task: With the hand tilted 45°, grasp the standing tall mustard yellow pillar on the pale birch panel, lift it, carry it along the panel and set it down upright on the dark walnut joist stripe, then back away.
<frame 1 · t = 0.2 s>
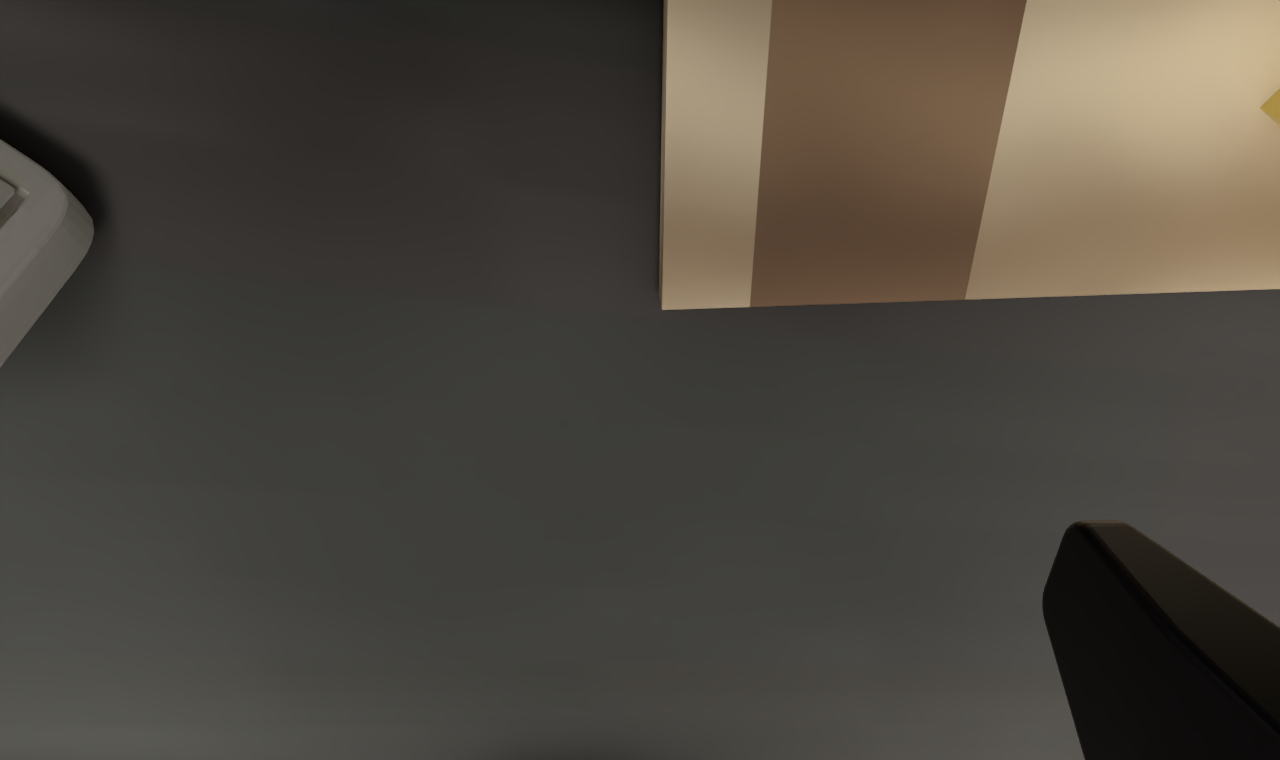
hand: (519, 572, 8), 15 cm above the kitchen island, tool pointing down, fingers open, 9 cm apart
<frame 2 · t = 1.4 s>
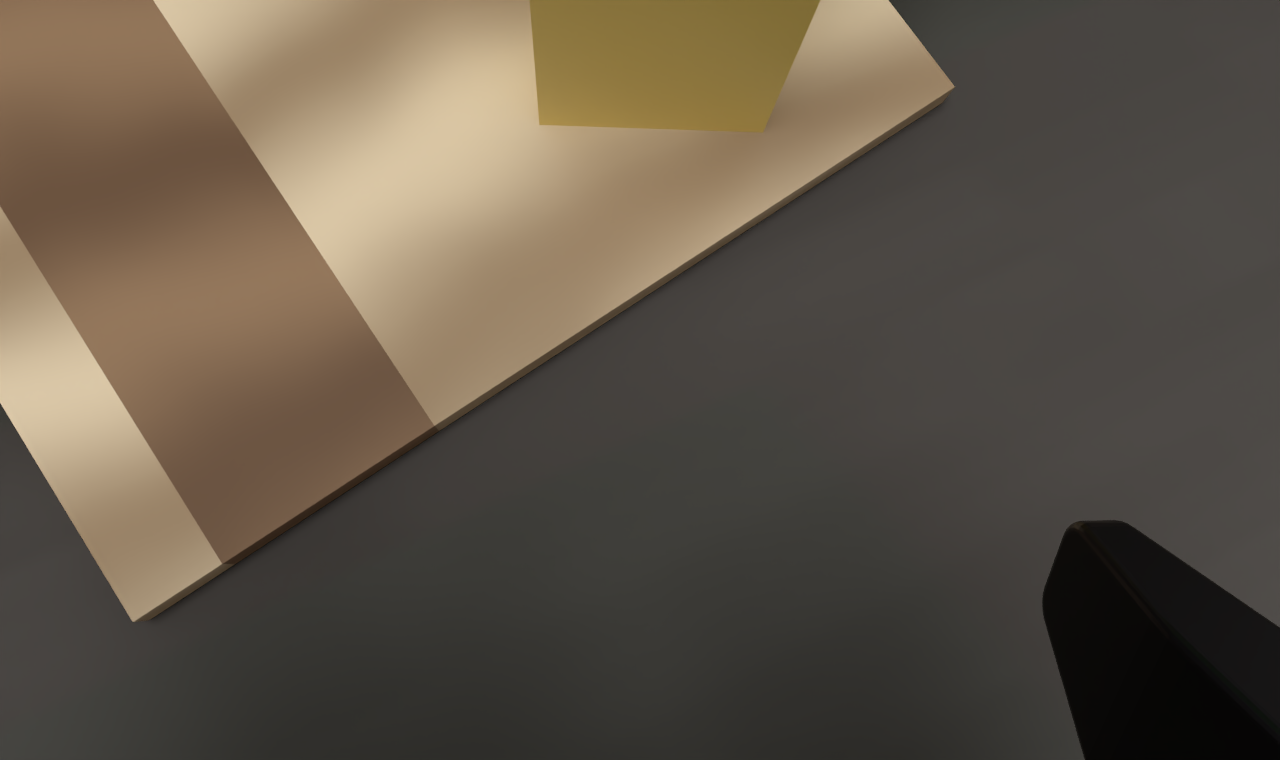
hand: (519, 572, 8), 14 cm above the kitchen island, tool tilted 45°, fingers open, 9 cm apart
panel: (391, 77, 23), on the kitchen island
tall mustard yellow pillar: (652, 25, 23), point 1 cm above the kitchen island, touching panel
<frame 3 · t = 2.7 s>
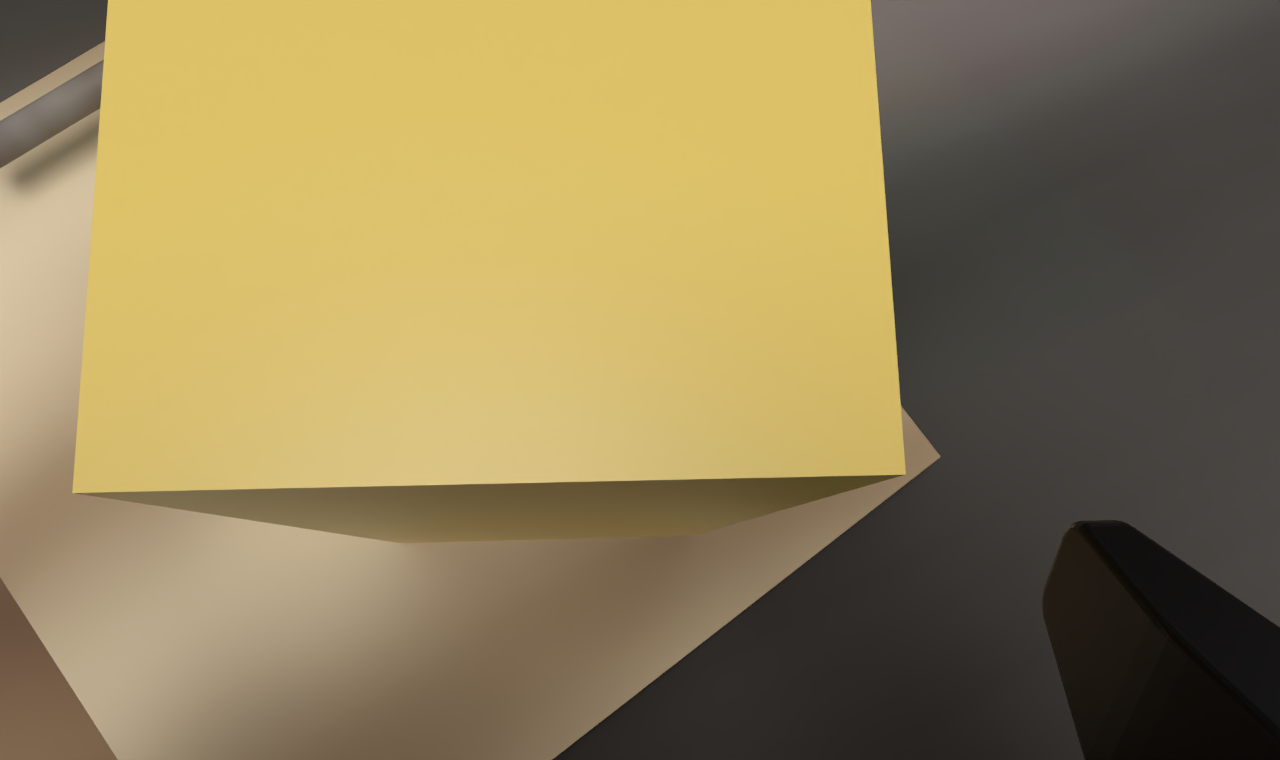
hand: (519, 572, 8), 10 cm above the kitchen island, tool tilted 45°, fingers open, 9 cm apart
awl: (253, 41, 19), resting on panel
panel: (211, 469, 18), on the kitchen island
tall mustard yellow pillar: (546, 395, 18), point 1 cm above the kitchen island, touching panel
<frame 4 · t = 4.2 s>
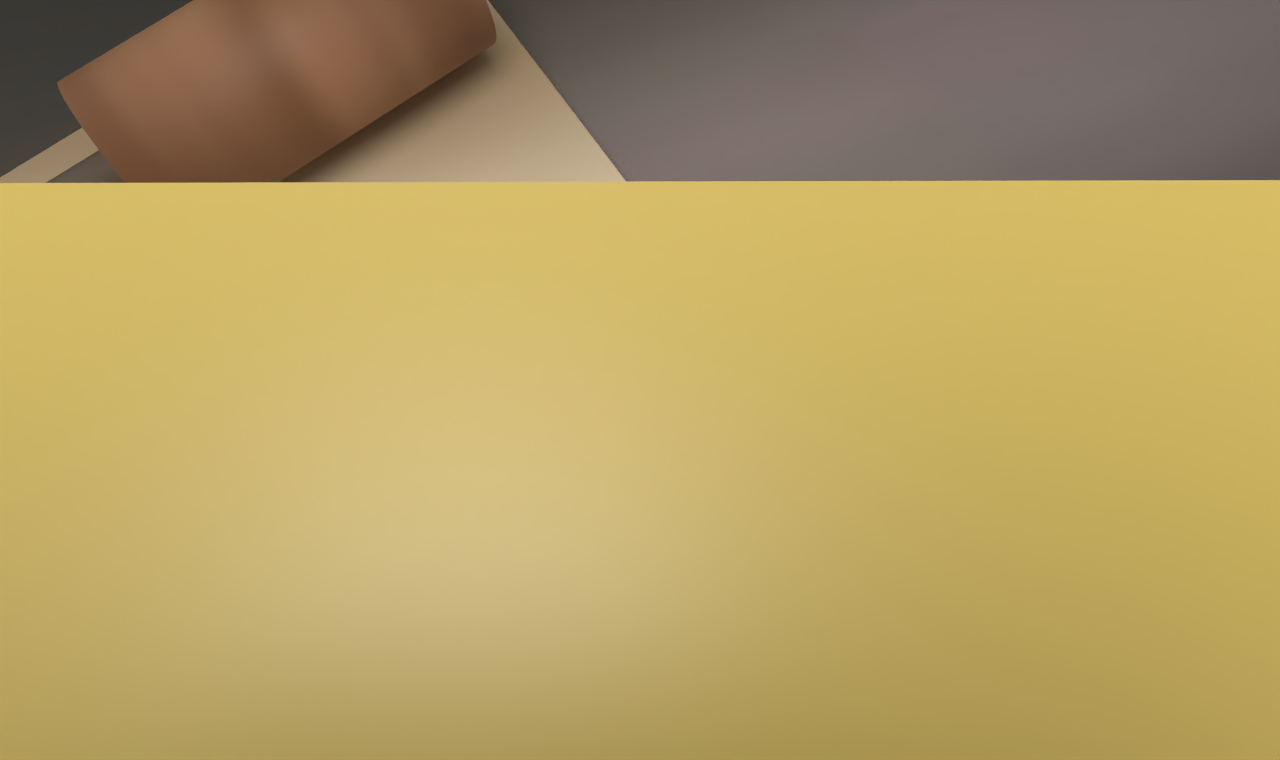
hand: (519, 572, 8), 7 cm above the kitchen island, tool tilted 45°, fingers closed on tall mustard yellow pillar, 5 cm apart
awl: (161, 196, 14), resting on panel
tall mustard yellow pillar: (542, 672, 14), point 1 cm above the kitchen island, touching gripper, panel
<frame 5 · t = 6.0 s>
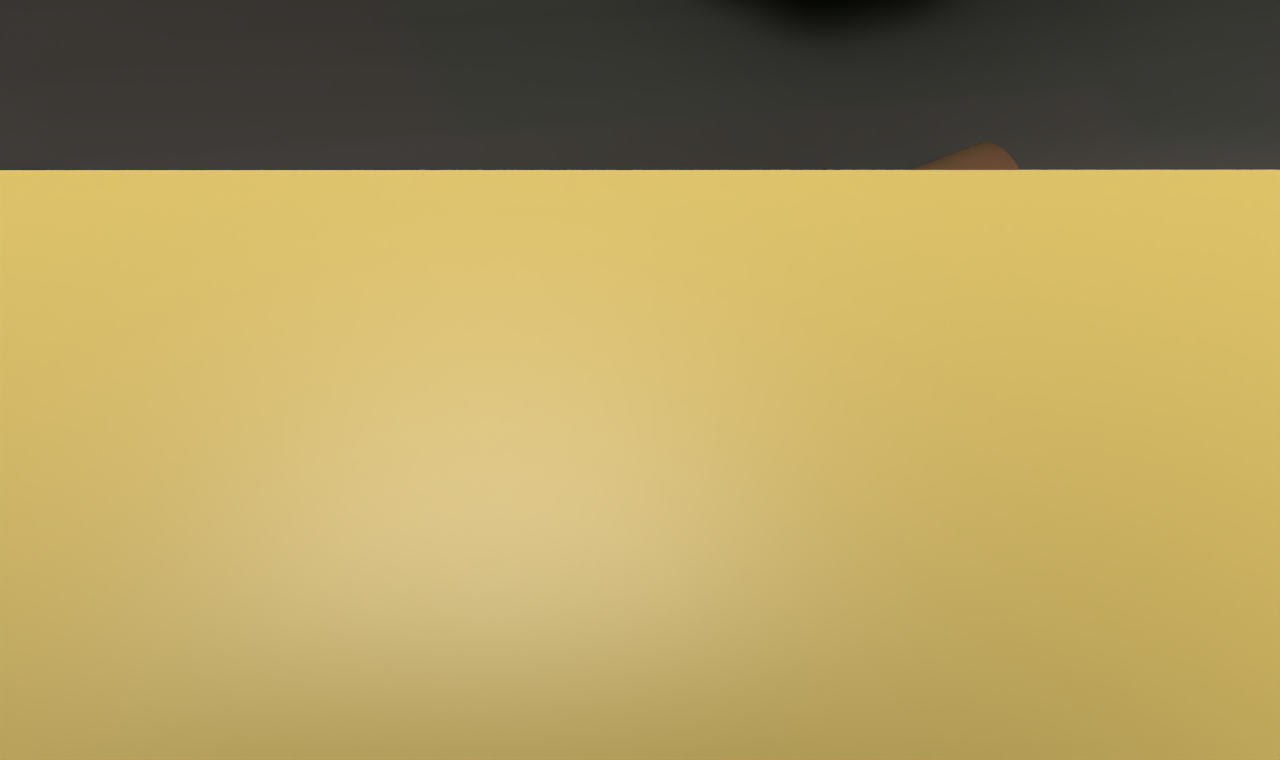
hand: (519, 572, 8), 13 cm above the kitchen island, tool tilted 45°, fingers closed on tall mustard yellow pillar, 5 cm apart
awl: (769, 296, 22), resting on panel
tall mustard yellow pillar: (544, 669, 14), point 8 cm above the kitchen island, touching gripper
when the fingers open (8 cm above the kitchen island, at t = 7.8 s): tall mustard yellow pillar drops 1 cm, resting on panel.
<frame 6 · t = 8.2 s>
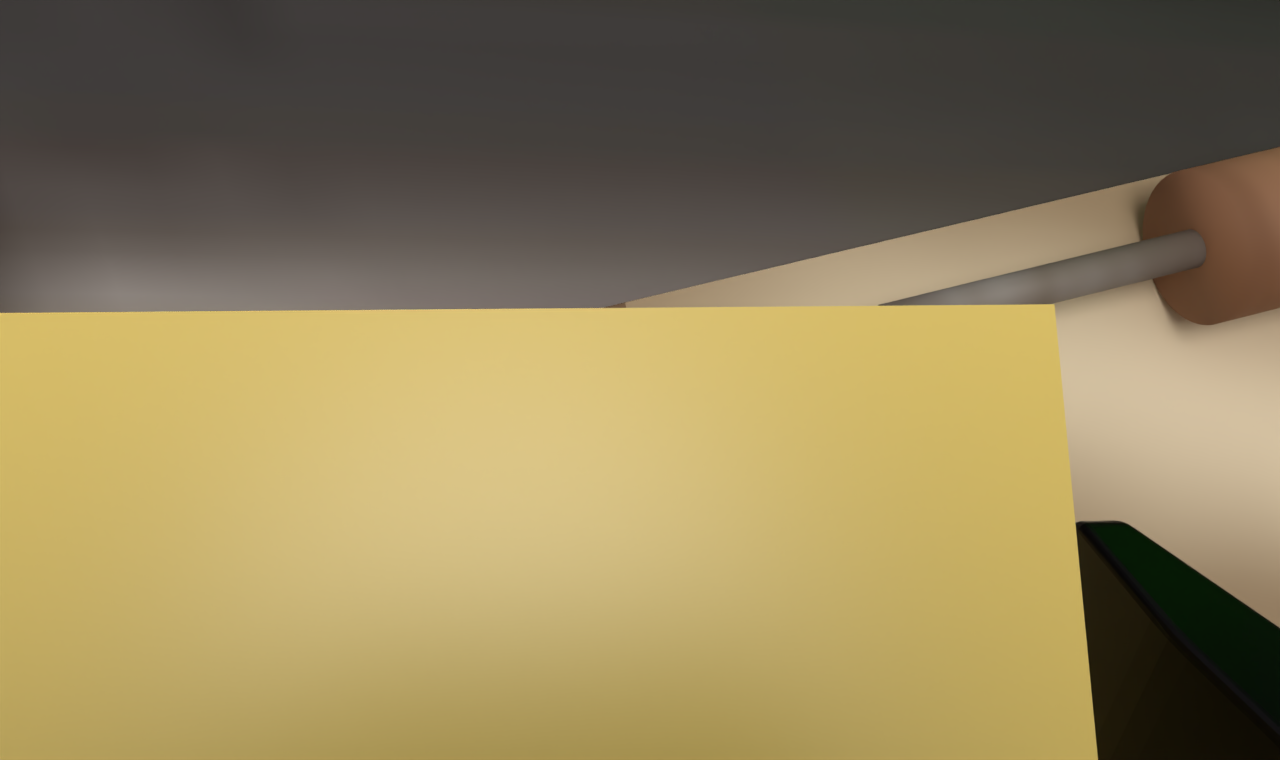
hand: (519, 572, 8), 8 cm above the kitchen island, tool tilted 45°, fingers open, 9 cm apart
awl: (1149, 270, 17), resting on panel
panel: (954, 713, 16), on the kitchen island
tall mustard yellow pillar: (546, 659, 15), point 1 cm above the kitchen island, touching panel
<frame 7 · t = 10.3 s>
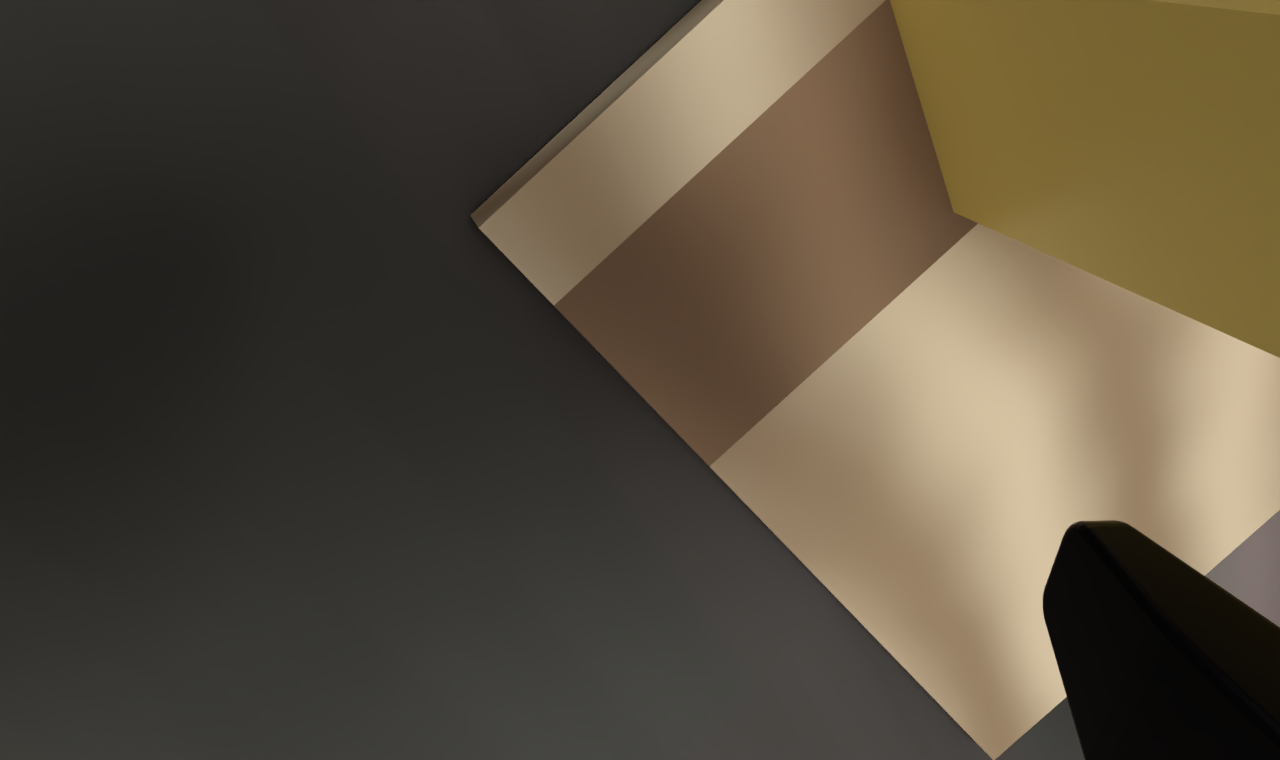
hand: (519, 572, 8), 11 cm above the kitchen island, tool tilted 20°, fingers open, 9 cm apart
panel: (1028, 316, 23), on the kitchen island
tall mustard yellow pillar: (1030, 33, 19), point 1 cm above the kitchen island, touching panel
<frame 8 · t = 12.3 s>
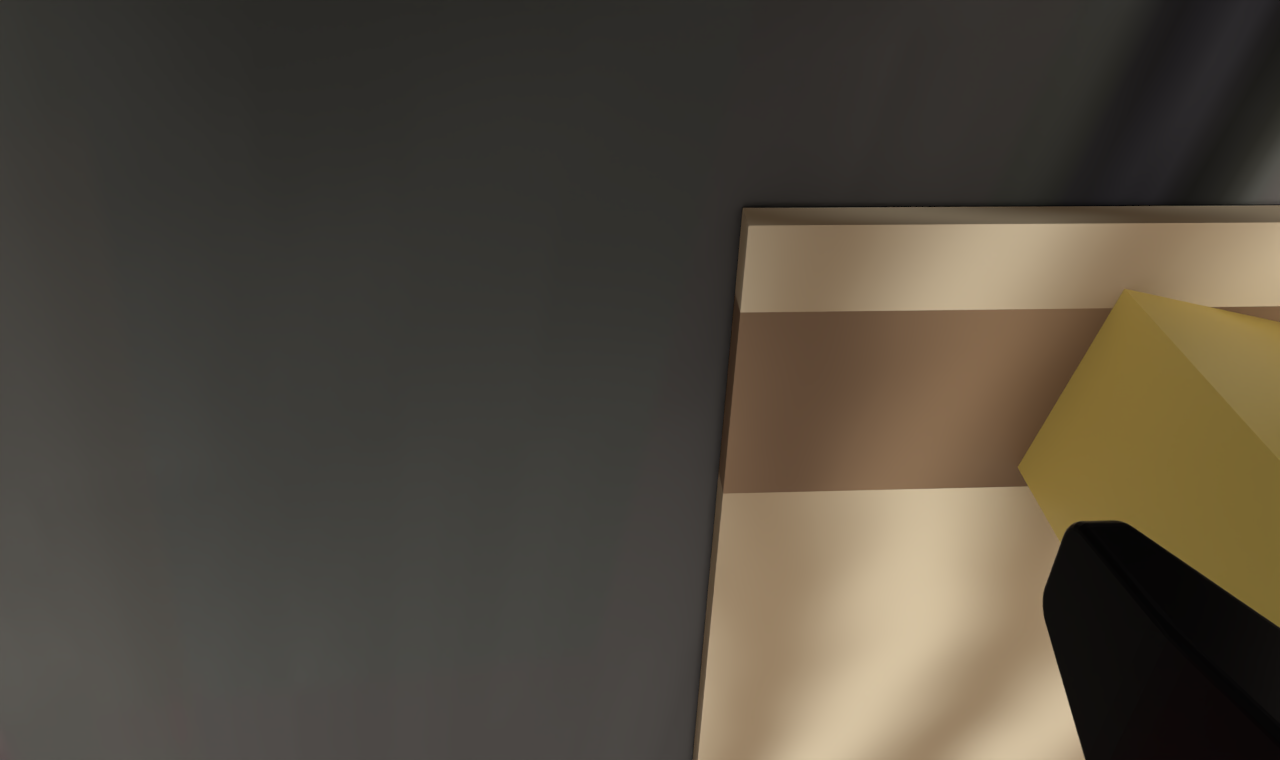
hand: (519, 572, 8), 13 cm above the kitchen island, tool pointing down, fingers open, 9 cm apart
panel: (988, 566, 27), on the kitchen island
tall mustard yellow pillar: (1164, 401, 23), point 1 cm above the kitchen island, touching panel
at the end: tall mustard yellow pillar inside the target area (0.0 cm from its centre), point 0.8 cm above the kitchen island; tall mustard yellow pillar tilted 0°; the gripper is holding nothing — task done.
